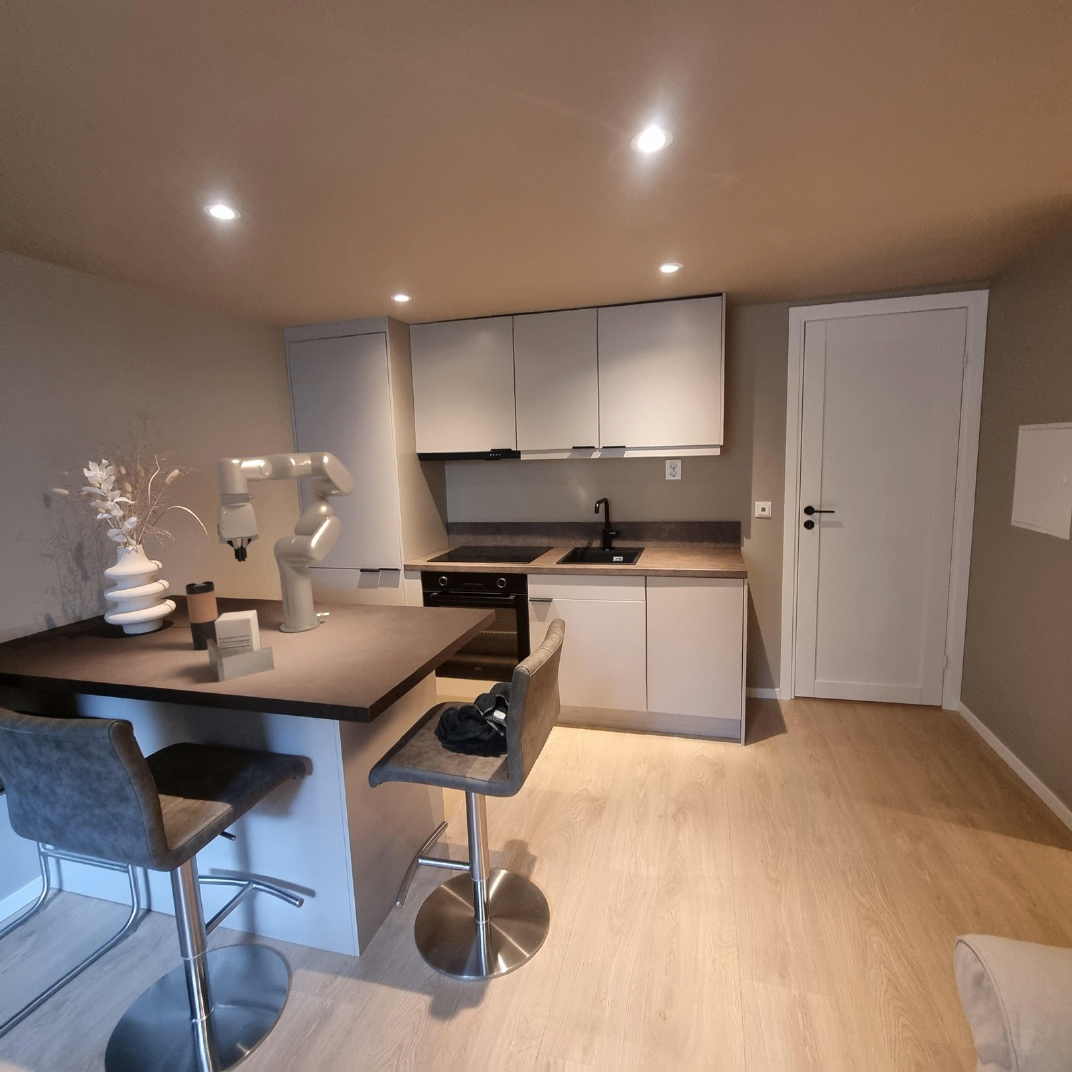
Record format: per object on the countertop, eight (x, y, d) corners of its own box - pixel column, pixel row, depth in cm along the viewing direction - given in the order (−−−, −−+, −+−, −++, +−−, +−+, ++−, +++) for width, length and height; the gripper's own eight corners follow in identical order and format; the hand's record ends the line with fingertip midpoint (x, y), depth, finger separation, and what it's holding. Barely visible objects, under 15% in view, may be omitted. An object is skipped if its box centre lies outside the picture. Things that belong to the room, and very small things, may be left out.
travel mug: (208, 650, 172) (200, 586, 169) (187, 650, 173) (178, 586, 171) (227, 642, 179) (219, 581, 177) (206, 642, 181) (198, 581, 178)
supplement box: (228, 664, 159) (222, 612, 157) (263, 660, 161) (257, 609, 159) (220, 675, 150) (213, 621, 148) (256, 671, 153) (250, 617, 151)
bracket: (261, 655, 165) (258, 629, 164) (274, 668, 154) (271, 640, 153) (210, 667, 157) (206, 639, 156) (219, 682, 146) (216, 652, 145)
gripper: (258, 497, 174) (265, 556, 177) (203, 501, 165) (211, 563, 168) (264, 498, 169) (271, 558, 171) (207, 502, 159) (215, 566, 162)
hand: (241, 560), depth 169 cm, fingers closed
